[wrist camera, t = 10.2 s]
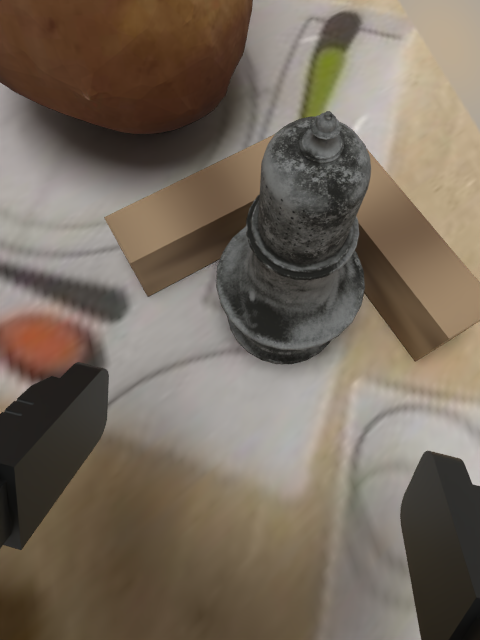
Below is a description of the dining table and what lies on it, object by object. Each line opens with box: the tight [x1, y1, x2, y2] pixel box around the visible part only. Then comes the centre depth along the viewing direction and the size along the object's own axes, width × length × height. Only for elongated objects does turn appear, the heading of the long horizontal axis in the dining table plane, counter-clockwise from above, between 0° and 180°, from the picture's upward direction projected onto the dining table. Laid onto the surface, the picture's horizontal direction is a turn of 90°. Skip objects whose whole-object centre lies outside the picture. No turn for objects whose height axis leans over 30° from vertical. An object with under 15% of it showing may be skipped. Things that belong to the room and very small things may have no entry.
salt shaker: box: [216, 111, 371, 364], centre depth 15 cm, size 6×6×12 cm
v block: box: [104, 135, 480, 361], centre depth 20 cm, size 8×16×4 cm, turn 75°
